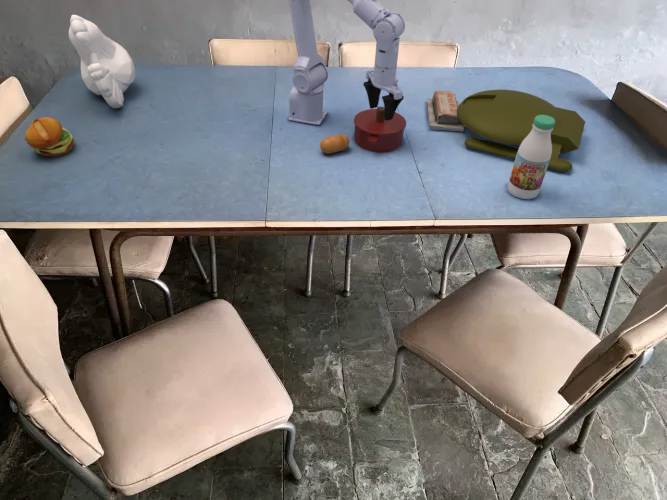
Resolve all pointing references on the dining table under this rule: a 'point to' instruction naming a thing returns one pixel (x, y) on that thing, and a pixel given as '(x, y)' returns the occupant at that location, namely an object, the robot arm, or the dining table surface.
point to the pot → (378, 141)
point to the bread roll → (334, 143)
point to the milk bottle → (532, 159)
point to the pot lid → (379, 122)
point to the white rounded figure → (101, 61)
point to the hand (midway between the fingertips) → (380, 113)
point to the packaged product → (443, 112)
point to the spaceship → (517, 124)
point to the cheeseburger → (49, 137)
